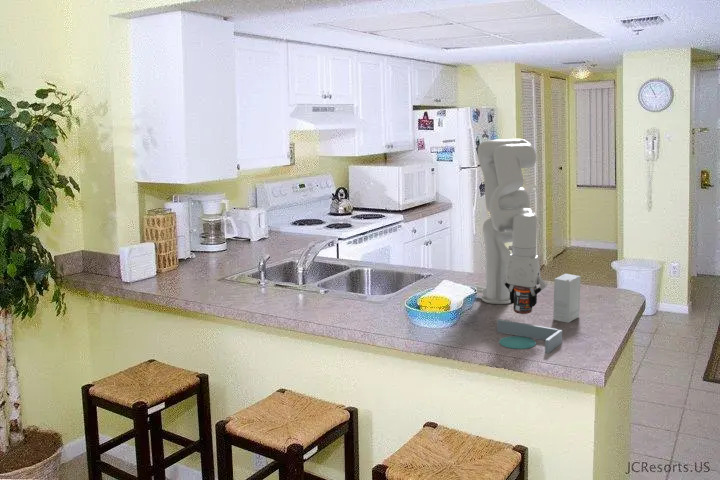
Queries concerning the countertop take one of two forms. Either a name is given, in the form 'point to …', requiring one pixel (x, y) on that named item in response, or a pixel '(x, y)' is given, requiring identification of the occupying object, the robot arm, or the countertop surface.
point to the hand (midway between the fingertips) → (523, 303)
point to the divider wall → (532, 332)
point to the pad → (517, 342)
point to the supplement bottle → (522, 300)
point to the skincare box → (566, 297)
